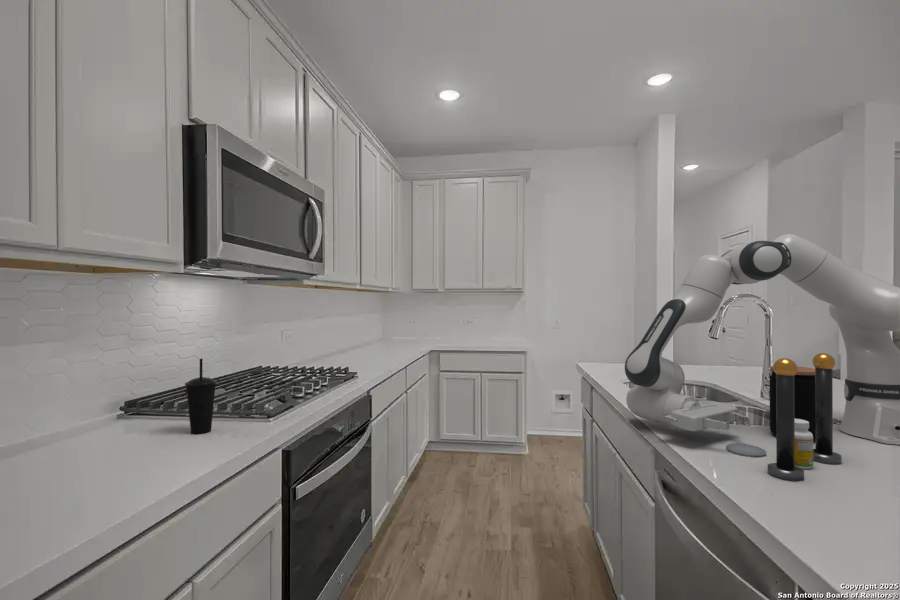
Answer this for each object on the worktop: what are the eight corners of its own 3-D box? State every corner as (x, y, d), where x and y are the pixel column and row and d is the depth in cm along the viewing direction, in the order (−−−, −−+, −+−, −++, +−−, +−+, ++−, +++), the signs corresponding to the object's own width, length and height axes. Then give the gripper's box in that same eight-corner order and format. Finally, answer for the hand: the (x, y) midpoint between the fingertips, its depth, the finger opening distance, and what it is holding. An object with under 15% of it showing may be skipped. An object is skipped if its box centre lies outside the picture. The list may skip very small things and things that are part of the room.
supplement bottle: (777, 460, 102) (777, 416, 102) (804, 461, 101) (804, 418, 101) (790, 468, 97) (790, 423, 97) (819, 470, 96) (818, 424, 96)
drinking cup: (183, 430, 125) (184, 358, 125) (214, 426, 130) (215, 356, 130) (185, 437, 119) (185, 361, 119) (218, 432, 123) (218, 359, 123)
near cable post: (801, 473, 94) (800, 357, 94) (806, 483, 89) (806, 360, 89) (765, 468, 97) (765, 355, 97) (769, 477, 92) (769, 358, 92)
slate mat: (764, 449, 109) (764, 446, 109) (768, 459, 102) (768, 456, 102) (725, 444, 113) (725, 441, 113) (726, 453, 106) (726, 451, 106)
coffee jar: (812, 433, 122) (811, 366, 122) (827, 445, 112) (827, 372, 112) (764, 429, 126) (764, 364, 126) (776, 440, 116) (775, 370, 116)
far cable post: (837, 458, 103) (837, 352, 103) (844, 466, 98) (844, 355, 98) (804, 453, 106) (804, 351, 106) (809, 461, 101) (809, 353, 101)
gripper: (659, 404, 116) (713, 416, 104) (704, 395, 126) (759, 405, 114) (659, 429, 116) (713, 443, 104) (704, 418, 126) (759, 430, 114)
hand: (738, 423), depth 109 cm, fingers open, 8 cm apart
